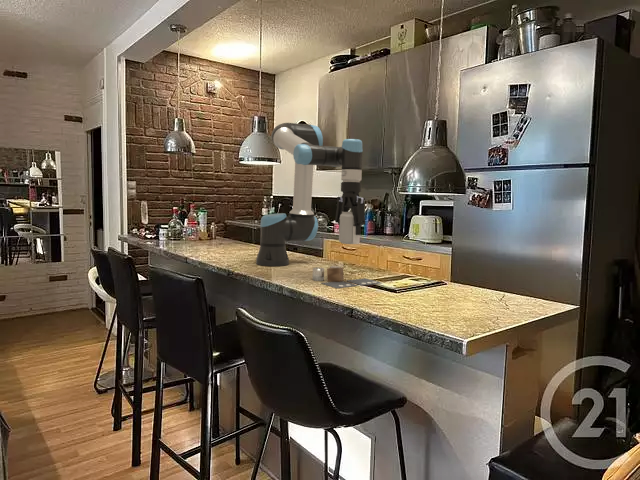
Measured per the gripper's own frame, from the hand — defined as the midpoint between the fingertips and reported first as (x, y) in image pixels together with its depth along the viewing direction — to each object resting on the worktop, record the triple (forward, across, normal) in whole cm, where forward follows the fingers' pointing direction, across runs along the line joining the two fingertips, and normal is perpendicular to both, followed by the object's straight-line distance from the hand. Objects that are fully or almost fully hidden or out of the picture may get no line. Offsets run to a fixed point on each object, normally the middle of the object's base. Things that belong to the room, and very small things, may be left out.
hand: (349, 242), depth 178 cm
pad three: (+16, +3, +6) cm, 17 cm away
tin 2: (+16, -8, 0) cm, 18 cm away
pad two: (+16, +2, -6) cm, 17 cm away
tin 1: (+16, -8, -8) cm, 19 cm away
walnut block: (+15, -4, -3) cm, 16 cm away
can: (0, 0, 0) cm, 0 cm away
